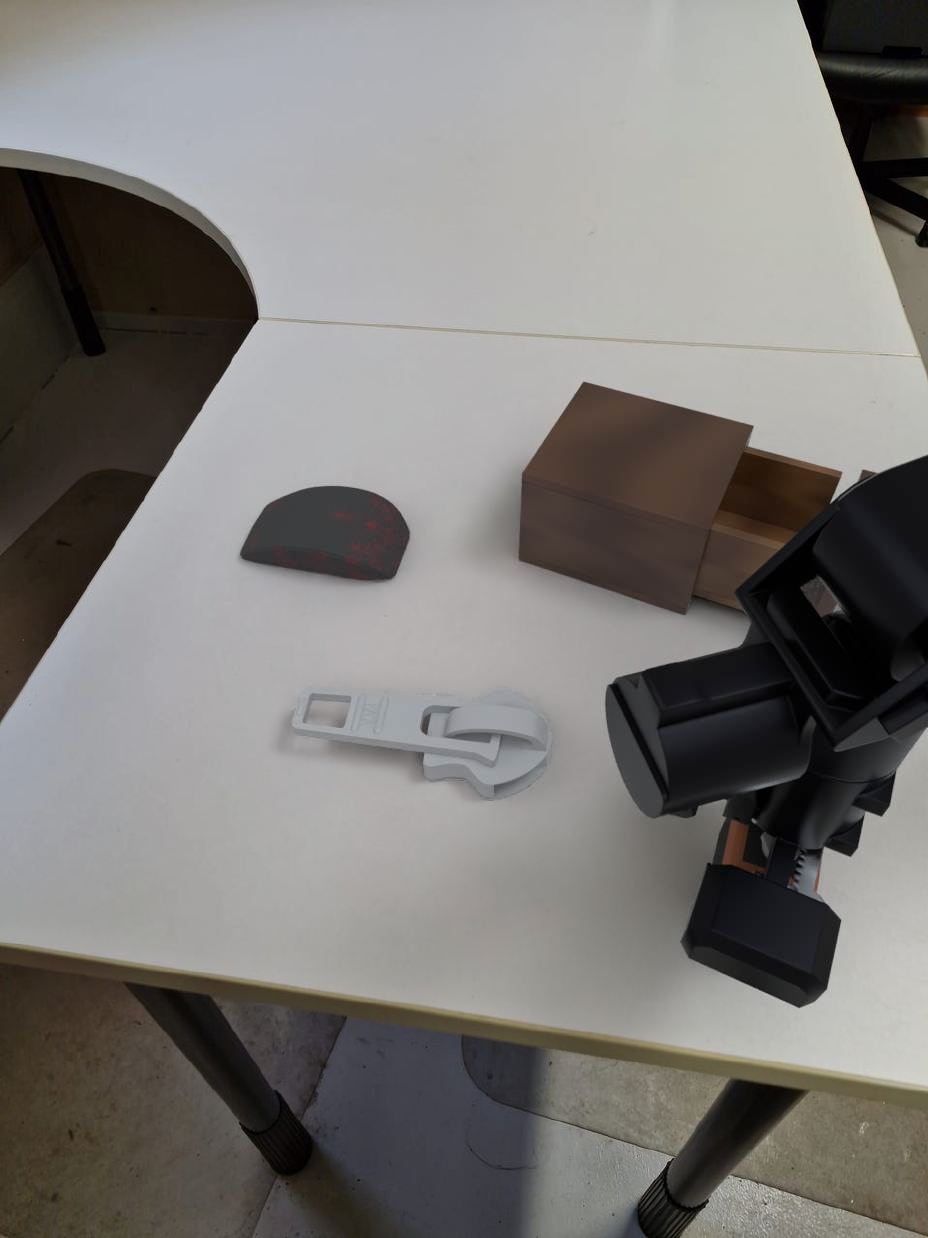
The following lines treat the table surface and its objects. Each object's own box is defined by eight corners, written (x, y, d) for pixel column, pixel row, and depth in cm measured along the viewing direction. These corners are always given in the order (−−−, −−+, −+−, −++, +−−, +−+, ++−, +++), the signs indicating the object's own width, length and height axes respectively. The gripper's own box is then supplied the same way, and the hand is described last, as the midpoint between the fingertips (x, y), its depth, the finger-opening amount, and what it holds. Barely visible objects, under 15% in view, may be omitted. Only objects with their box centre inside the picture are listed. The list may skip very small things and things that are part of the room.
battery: (696, 929, 50) (733, 858, 43) (719, 828, 54) (756, 747, 47) (772, 956, 49) (824, 888, 41) (789, 851, 53) (839, 772, 45)
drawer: (906, 561, 71) (944, 490, 65) (882, 666, 64) (923, 597, 58) (689, 498, 76) (707, 427, 70) (647, 589, 69) (662, 518, 63)
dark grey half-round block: (389, 591, 71) (385, 558, 68) (236, 567, 73) (225, 533, 70) (415, 525, 76) (412, 491, 73) (270, 503, 78) (262, 469, 75)
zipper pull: (316, 686, 65) (307, 652, 62) (554, 710, 63) (558, 675, 60) (289, 778, 60) (277, 746, 57) (547, 806, 58) (550, 774, 55)
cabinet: (728, 513, 76) (754, 425, 69) (685, 615, 69) (709, 529, 61) (574, 468, 80) (583, 380, 73) (518, 559, 73) (521, 473, 65)
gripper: (716, 535, 45) (668, 702, 57) (591, 830, 35) (565, 958, 47) (939, 602, 42) (839, 764, 54) (876, 950, 32) (770, 1055, 44)
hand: (754, 871), depth 50 cm, fingers closed on battery, 7 cm apart
